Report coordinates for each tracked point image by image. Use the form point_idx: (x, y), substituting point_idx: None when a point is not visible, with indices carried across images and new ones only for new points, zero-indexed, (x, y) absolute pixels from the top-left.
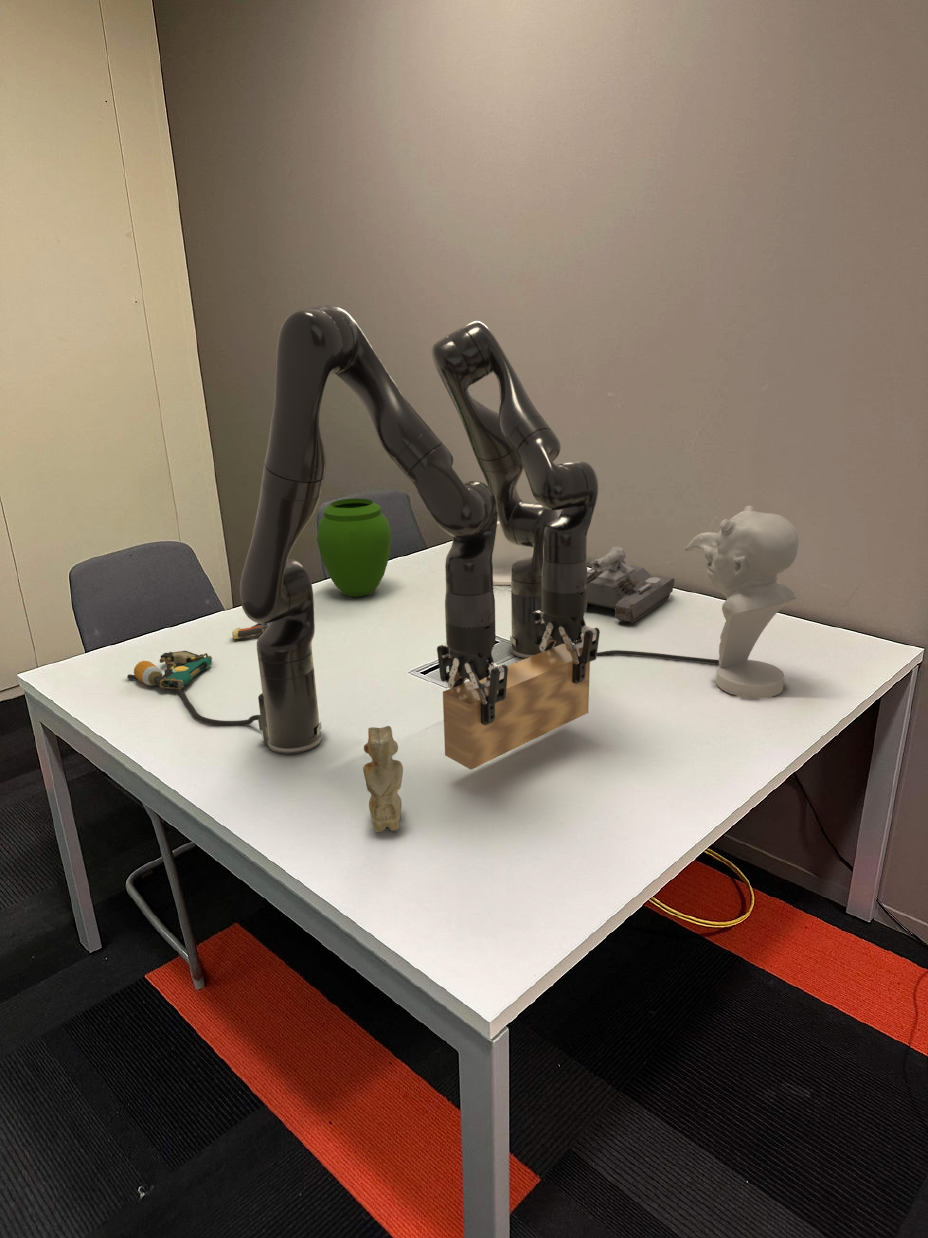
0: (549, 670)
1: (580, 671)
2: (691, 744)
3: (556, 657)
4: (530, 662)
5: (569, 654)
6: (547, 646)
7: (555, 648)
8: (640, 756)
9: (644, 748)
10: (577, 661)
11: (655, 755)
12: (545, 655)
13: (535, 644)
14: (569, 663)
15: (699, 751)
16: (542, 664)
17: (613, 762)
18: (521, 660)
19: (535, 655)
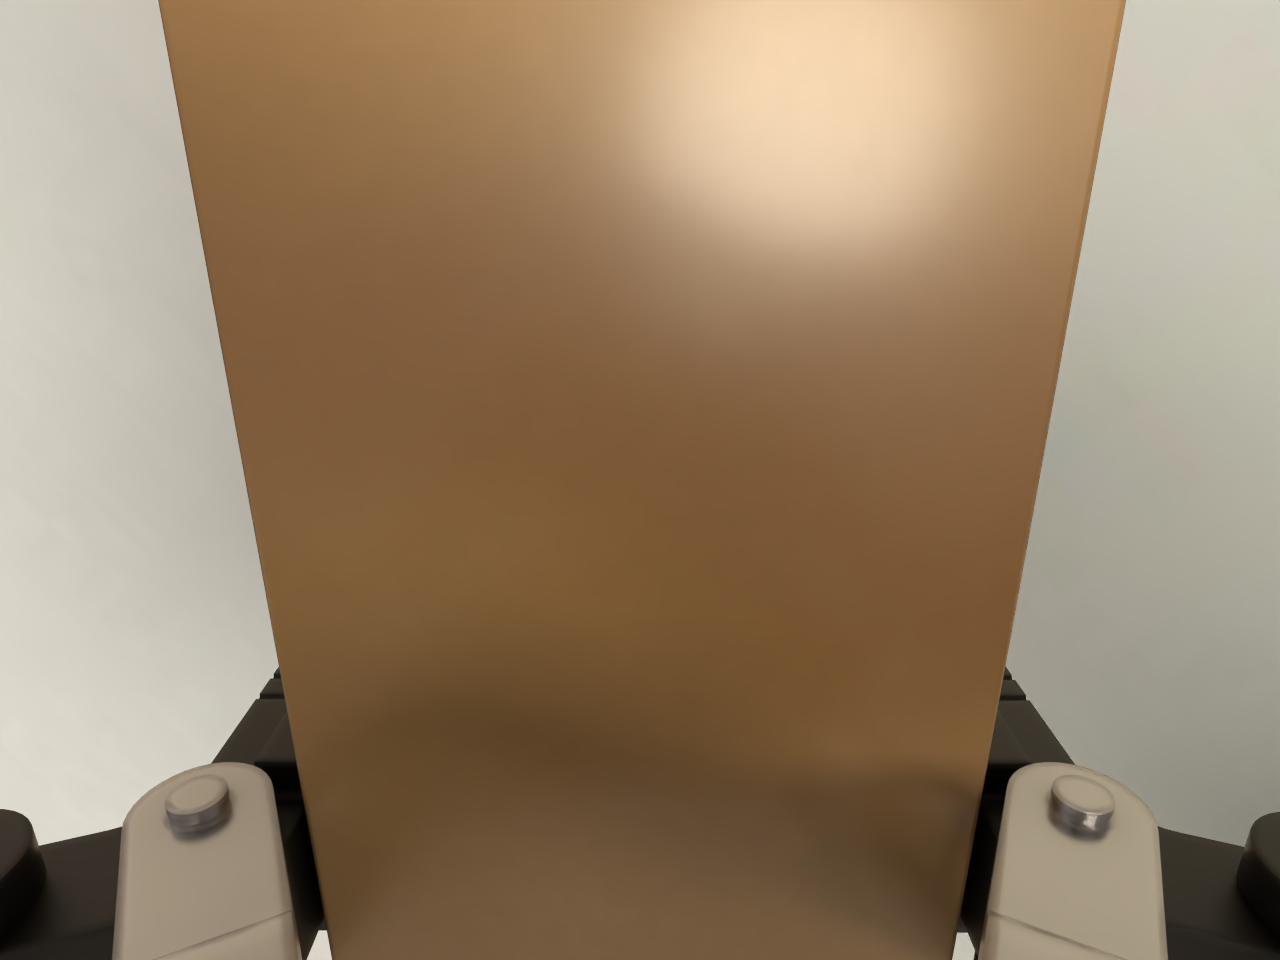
0: (191, 139)
1: (242, 726)
2: (119, 818)
3: (609, 716)
4: (838, 146)
5: (546, 930)
6: (991, 888)
7: (896, 950)
8: (169, 559)
9: (226, 639)
10: (157, 810)
11: (131, 621)
12: (832, 648)
13: (1278, 831)
14: (300, 711)
15: (40, 792)
16: (549, 270)
17: (203, 401)
18: (1098, 71)
19: (995, 516)
